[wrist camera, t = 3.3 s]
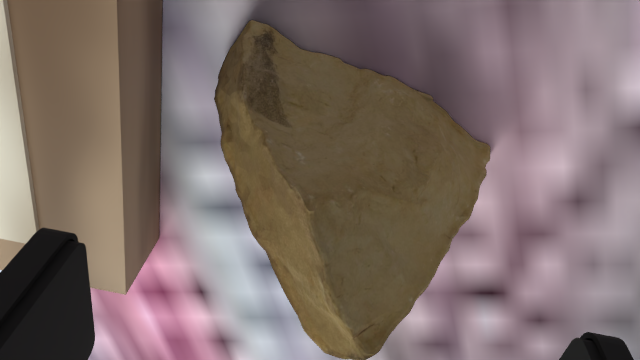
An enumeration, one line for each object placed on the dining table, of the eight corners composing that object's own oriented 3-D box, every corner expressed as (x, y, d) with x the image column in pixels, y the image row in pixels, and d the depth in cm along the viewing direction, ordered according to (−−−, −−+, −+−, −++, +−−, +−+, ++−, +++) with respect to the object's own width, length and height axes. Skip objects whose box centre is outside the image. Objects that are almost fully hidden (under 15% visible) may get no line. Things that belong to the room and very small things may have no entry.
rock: (128, 86, 19) (259, 294, 22) (153, 63, 11) (351, 388, 14) (354, -34, 22) (442, 162, 25) (495, -117, 15) (599, 180, 18)
